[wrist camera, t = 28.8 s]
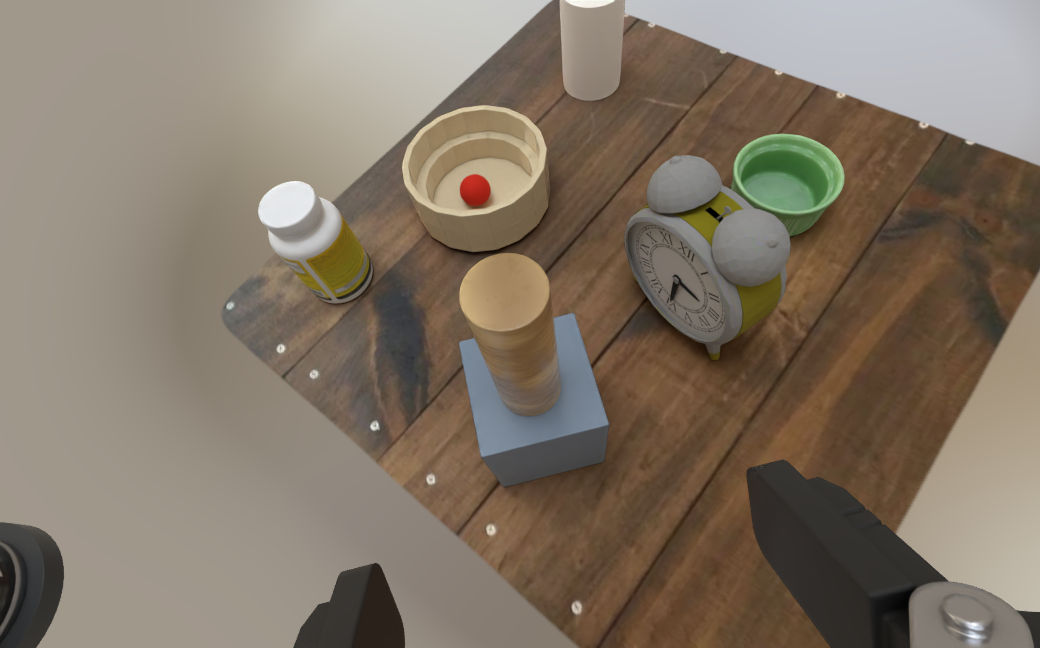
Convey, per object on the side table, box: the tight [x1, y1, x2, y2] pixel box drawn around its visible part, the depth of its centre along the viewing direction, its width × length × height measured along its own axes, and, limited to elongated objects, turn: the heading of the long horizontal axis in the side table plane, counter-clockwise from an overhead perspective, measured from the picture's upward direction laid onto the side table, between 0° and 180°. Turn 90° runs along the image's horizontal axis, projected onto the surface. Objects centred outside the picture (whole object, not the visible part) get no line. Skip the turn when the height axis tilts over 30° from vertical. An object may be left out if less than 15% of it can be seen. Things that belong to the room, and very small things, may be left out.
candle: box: [560, 0, 625, 101], centre depth 54 cm, size 6×6×15 cm
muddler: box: [459, 253, 561, 416], centre depth 29 cm, size 4×4×12 cm
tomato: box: [460, 174, 491, 206], centre depth 52 cm, size 3×3×3 cm
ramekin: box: [731, 134, 844, 237], centre depth 48 cm, size 9×9×4 cm
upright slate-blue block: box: [459, 313, 609, 487], centre depth 39 cm, size 8×8×10 cm
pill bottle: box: [258, 181, 373, 303], centre depth 47 cm, size 6×6×11 cm
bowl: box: [402, 105, 550, 252], centre depth 52 cm, size 13×13×6 cm
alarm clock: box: [624, 155, 791, 360], centre depth 40 cm, size 12×7×15 cm, turn 35°
